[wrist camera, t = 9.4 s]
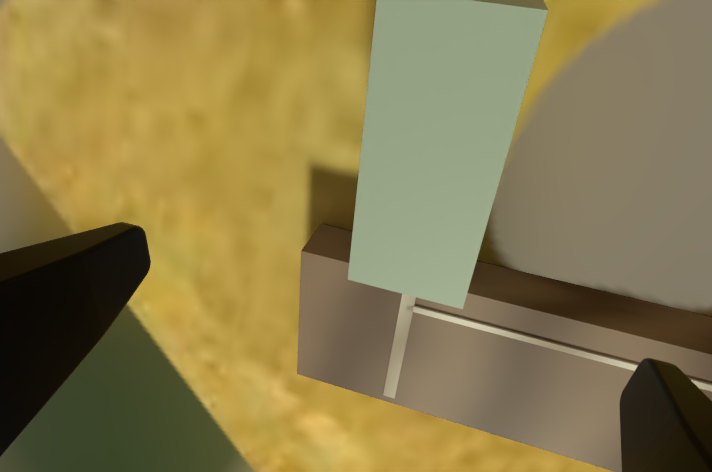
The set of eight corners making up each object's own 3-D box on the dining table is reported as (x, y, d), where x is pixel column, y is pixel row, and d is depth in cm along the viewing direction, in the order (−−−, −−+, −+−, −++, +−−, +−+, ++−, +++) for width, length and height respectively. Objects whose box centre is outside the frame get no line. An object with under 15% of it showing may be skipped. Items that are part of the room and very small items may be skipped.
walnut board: (847, 349, 18) (890, 401, 16) (738, 465, 23) (761, 518, 20) (321, 223, 23) (300, 252, 20) (314, 341, 27) (296, 375, 25)
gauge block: (538, -9, 15) (548, 10, 11) (474, 228, 20) (460, 315, 16) (420, -23, 16) (377, -12, 11) (386, 209, 21) (346, 286, 16)
